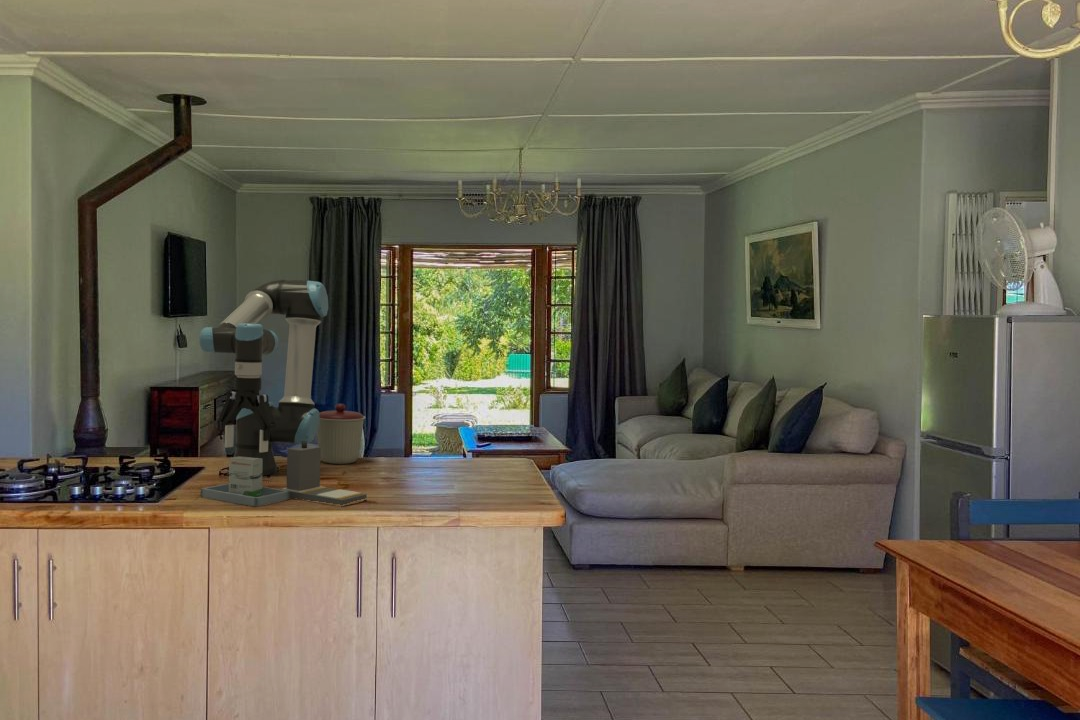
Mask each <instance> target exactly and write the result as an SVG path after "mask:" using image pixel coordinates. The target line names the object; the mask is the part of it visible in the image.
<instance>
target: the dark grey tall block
mask: <svg viewBox="0 0 1080 720" xmlns="http://www.w3.org/2000/svg"><path fill="white" fill-rule="evenodd" d="M286 450H287V452H286V453H287V454H286V455H287V457H286V458H287V459H286V486H285V488H286V489H290V490H296V491H301V490H306V489H311V488H315V487H320V486H321V483H320V482H321V447H318V446H314V445H308V443H307V441H302V444H301V446H296V447H291V448H287V449H286Z"/></svg>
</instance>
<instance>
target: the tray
mask: <svg viewBox="0 0 1080 720" xmlns="http://www.w3.org/2000/svg"><path fill="white" fill-rule="evenodd" d="M280 489H281V488H274V487H273V488H272V487H267V486H262V496H261V497H251V496H245V495H239V494H234V493H229V482H228V483H223V484H217V485H213V486H207V487H201V488H200V498H204V499H210V500H213V501H214V500H215V501H220V502H227V503H232V504H237V505H242V504H243V505H242V506H247V505H248V506H249V507H253V506H255V507H254V508H258V507H257V506H259V507H261V506H260V505H263V506H266V505H265V504H268V505H270V504H269V503H272V504H275V502H276V503H280V502H279V501H281V502H285V501H288V500H287V499H291V498H290V491H286V490H280ZM284 500H285V501H284Z"/></svg>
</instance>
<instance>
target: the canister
mask: <svg viewBox="0 0 1080 720" xmlns="http://www.w3.org/2000/svg"><path fill="white" fill-rule="evenodd" d="M334 408H335V410H324V411H321V412H320V411H319V413H320V416H319V417H320V422H319V428H318V431H317V434H316V437H317V447H321V458H320V461H322V462H323V463H327V464H331V465H332V464H333V465H344V464H345V465H346V464H348V465H349V464H352V463H355V462H356V461H357V459H358V458H359V454H360V447H361V441H362V435H363V428H364V421H365V419H366V416H365V415H363V414H362V413H360V412H357V411H352V410H351V411H350V410H345V409H346V405H345V404H344V403H337V404H336V405H334Z"/></svg>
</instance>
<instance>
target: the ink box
mask: <svg viewBox="0 0 1080 720" xmlns="http://www.w3.org/2000/svg"><path fill="white" fill-rule="evenodd" d="M228 459H229V460H228V461H229V462H228V464H229V465H228V483H229V493H234V494H239V495H245V496H251V497H261V496H262V487H263V476H262V466H263V459H262V458H251V457H240V456H239V457H230V458H228Z"/></svg>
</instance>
